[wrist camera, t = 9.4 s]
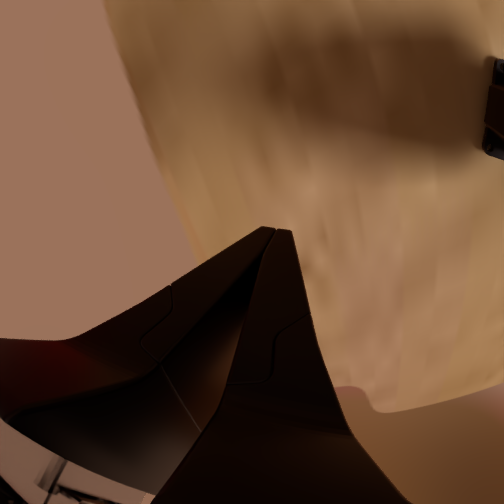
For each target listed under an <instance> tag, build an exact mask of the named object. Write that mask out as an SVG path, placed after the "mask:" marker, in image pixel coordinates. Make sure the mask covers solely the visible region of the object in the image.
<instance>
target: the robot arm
mask: <svg viewBox="0 0 504 504" xmlns="http://www.w3.org/2000/svg"><path fill="white" fill-rule="evenodd" d="M501 63H502V64H503V67H504V60H503V59H496V60H495V62H494V70H493V81H492V85H490V87H489V95H488V102H487V108H486V115H485V120H484V122H485V124H486V128H485V133H484V138H483V142H482V149H483V151H484V152H485V153H486V154H487V155H489V156H493V157H495V158H498V159H501V160H504V68H503V70H501V68H500V64H501ZM489 144H491V149H489V150H487V147H488V145H489ZM146 493H150V494H152V495H156V496H155V498H154V499H153V500H152V502H151V503H150V504H413V503H411V502H410V501H408V500H407V499H406V498H405V497H404V496H403V495H402V494H401V493H400V491H399V490H398V489H397V488H396V487H395V485H394V484H393V483H392V482H391V481H390V479H389V478H388V477H387V476H386V475H385V474H384V472H383V471H382V470H381V469H380V467H379V466H378V465H377V464H376V463H375V462H374V460H373V459H372V458H371V456H370V455H369V454H368V453H367V452H366V450H365V449H364V448H363V447H362V445H361V444H360V443H359V442H358V440H357V439H356V438H355V436H354V434H353V433H352V431H351V429H350V427H349V425H348V423H347V421H346V419H345V416H344V414H343V412H342V409H341V406H340V403H339V401H338V398H337V395H336V392H335V390H334V387H333V384H332V382H331V379H330V376H329V374H328V371H327V368H326V366H325V363H324V360H323V357H322V354H321V351H320V348H319V345H318V341H317V337H316V333H315V329H314V325H313V320H312V316H311V312H310V307H309V302H308V298H307V293H306V289H305V285H304V280H303V276H302V271H301V267H300V263H299V259H298V254H297V250H296V246H295V242H294V238H293V234H292V231H291V230H286V229H277V230H276V229H275V228H272V227H265V226H261V227H259V228H258V229H256V230H255V231H253V232H251V233H250V234H248V235H247V236H245V237H243V238H242V239H240V240H239V241H237V242H235V243H234V244H232V245H231V246H229V247H228V248H226V249H224V250H223V251H221V252H220V253H218V254H216V255H215V256H213V257H212V258H210V259H209V260H207V261H205V262H204V263H202V264H201V265H199V266H198V267H196V268H194V269H193V270H192V271H190V272H188V273H187V274H185V275H184V276H182V277H181V278H179V279H177V280H176V281H174V282H173V283H172V284H171V286H170V285H168V286H166V287H165V288H163V289H162V290H160V291H159V292H157V293H155V294H154V295H152V296H151V297H149V298H147V299H146V300H144V301H143V302H141V303H139V304H137V305H135V306H133V307H132V308H130V309H128V310H126V311H124V312H123V313H121V314H119V315H117V316H115V317H113V318H111V319H110V320H107V321H106V322H104V323H102V324H100V325H98V326H96V327H94V328H92V329H91V330H89V331H87V332H85V333H83V334H81V335H79V336H76V337H73V338H70V339H66V340H56V341H53V340H49V341H48V340H25V339H7V338H0V504H141V502H142V500H143V498H144V496H145V494H146Z"/></svg>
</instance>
